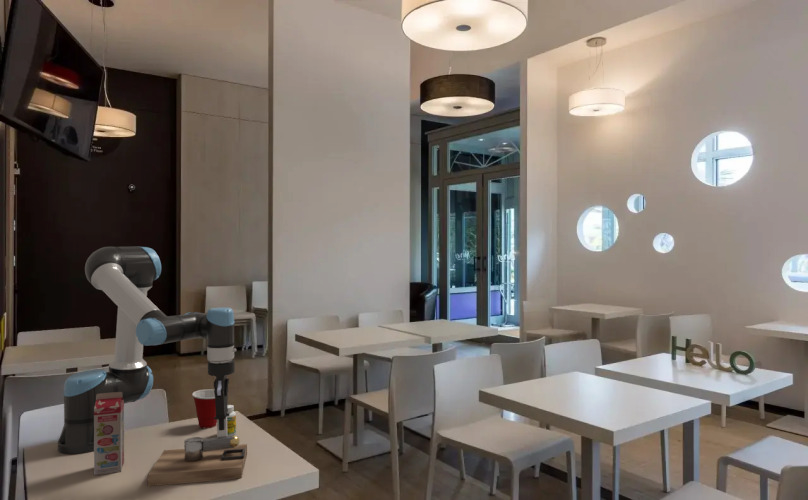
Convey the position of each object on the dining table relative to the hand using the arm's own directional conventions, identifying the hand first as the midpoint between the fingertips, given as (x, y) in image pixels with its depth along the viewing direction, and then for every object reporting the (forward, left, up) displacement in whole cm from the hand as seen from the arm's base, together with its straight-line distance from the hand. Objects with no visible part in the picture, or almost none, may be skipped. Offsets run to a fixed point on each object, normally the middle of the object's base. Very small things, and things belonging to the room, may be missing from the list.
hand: (222, 439), depth 157 cm
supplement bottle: (-25, -1, -7) cm, 26 cm away
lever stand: (+3, -5, -7) cm, 9 cm away
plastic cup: (-36, -9, -7) cm, 38 cm away
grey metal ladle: (+2, -2, -4) cm, 5 cm away
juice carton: (-2, -31, -7) cm, 32 cm away
